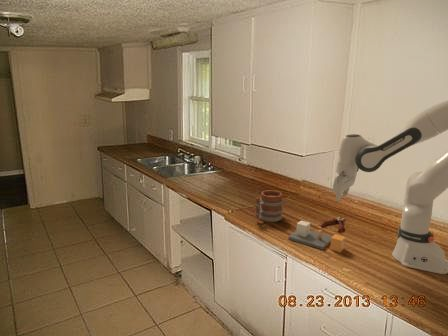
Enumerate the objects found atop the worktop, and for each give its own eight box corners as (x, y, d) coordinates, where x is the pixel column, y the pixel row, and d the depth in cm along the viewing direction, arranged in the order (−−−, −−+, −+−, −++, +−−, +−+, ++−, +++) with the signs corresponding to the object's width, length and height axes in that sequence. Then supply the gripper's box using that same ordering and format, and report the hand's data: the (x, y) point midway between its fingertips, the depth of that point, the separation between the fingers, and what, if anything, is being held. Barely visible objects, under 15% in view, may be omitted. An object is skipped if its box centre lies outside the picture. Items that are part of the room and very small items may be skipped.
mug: (287, 218, 195) (289, 193, 192) (263, 226, 184) (265, 200, 180) (270, 211, 206) (271, 187, 202) (247, 218, 195) (247, 193, 191)
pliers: (352, 221, 193) (352, 217, 192) (340, 233, 177) (340, 229, 177) (332, 217, 200) (333, 212, 199) (319, 228, 184) (320, 223, 184)
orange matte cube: (344, 248, 160) (345, 237, 158) (340, 252, 156) (341, 240, 155) (333, 245, 163) (334, 234, 161) (330, 249, 159) (331, 237, 158)
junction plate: (333, 239, 169) (334, 225, 168) (322, 249, 159) (324, 235, 157) (300, 229, 180) (301, 216, 178) (288, 239, 169) (289, 225, 167)
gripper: (345, 175, 142) (340, 205, 146) (360, 167, 158) (355, 194, 162) (331, 172, 146) (326, 201, 150) (346, 164, 162) (342, 191, 166)
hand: (341, 197), depth 156 cm, fingers open, 8 cm apart
